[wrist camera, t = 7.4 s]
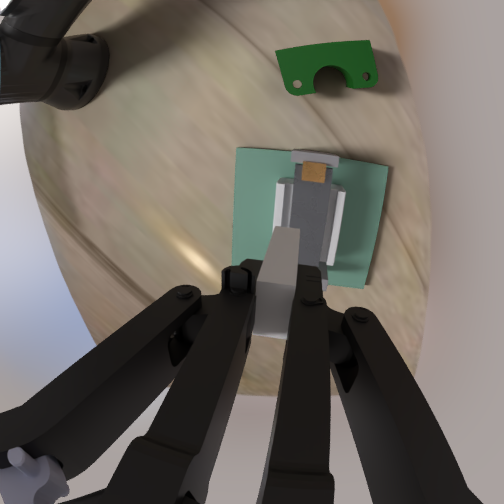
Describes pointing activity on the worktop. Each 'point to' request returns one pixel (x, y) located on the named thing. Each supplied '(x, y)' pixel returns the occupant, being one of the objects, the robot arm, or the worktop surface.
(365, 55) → the clamp
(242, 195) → the board
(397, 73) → the worktop surface
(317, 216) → the grey flat bar
